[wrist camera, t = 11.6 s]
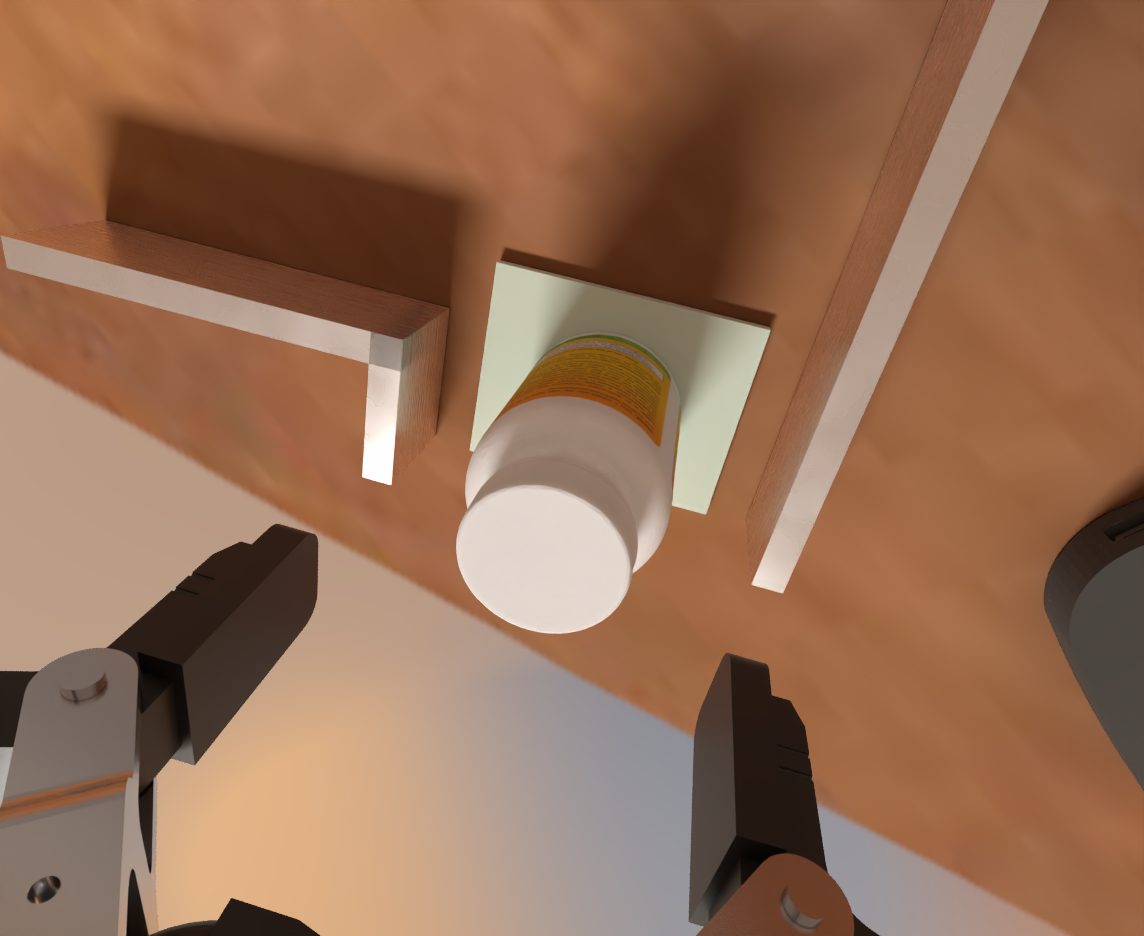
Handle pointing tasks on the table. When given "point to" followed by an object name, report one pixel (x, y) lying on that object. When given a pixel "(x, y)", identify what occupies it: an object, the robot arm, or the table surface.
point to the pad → (671, 331)
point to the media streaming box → (1105, 623)
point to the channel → (419, 329)
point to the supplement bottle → (572, 485)
